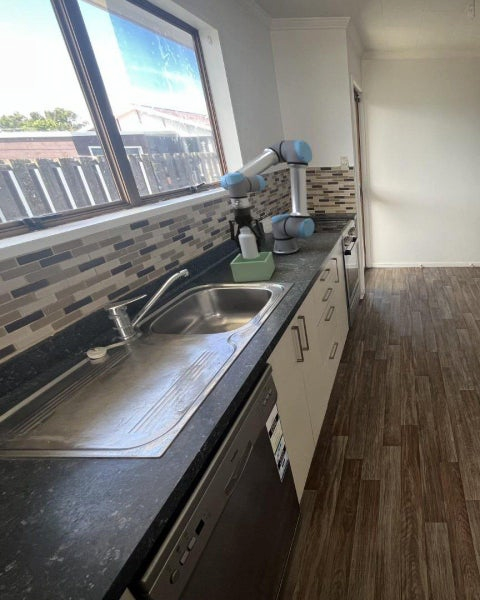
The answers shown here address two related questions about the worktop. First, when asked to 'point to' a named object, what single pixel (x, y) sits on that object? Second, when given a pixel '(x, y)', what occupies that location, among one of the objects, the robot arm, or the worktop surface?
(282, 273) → the worktop surface
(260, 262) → the bin
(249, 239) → the pill bottle
